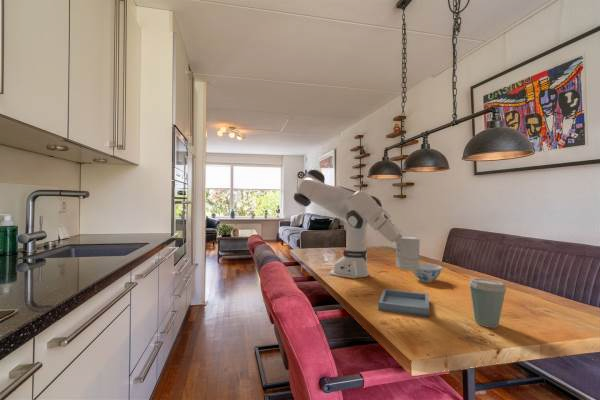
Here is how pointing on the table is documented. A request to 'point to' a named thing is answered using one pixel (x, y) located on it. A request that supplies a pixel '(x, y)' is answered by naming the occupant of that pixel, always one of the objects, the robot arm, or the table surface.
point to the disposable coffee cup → (487, 301)
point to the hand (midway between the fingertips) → (405, 245)
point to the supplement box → (408, 254)
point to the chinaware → (427, 272)
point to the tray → (404, 302)
